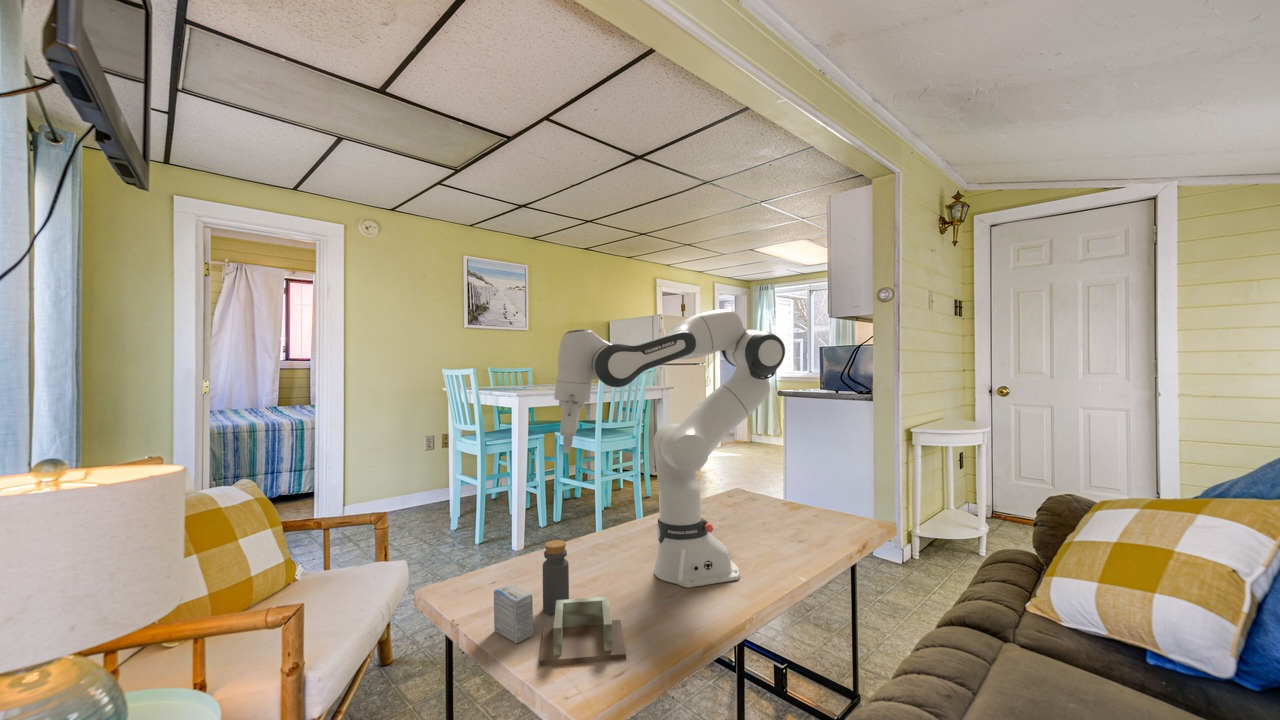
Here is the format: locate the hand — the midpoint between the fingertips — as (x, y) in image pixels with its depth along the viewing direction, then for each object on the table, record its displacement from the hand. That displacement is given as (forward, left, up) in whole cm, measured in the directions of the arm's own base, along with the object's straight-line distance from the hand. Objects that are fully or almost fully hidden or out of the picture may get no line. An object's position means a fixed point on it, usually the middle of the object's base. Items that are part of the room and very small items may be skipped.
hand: (567, 449), depth 125 cm
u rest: (-3, +25, -35) cm, 43 cm away
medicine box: (+11, +19, -35) cm, 41 cm away
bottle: (+3, +10, -35) cm, 36 cm away
